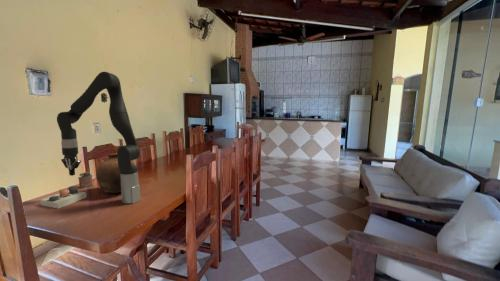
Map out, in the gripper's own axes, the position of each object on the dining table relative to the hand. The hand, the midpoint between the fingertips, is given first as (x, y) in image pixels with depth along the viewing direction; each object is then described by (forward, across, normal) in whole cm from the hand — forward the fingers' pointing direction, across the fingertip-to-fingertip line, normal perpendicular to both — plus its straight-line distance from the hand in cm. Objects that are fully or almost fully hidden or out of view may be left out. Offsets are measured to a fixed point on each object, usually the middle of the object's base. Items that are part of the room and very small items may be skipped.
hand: (72, 175), depth 143 cm
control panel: (+14, 0, +6) cm, 15 cm away
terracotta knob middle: (+10, 0, +6) cm, 12 cm away
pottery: (+14, -15, -18) cm, 27 cm away
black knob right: (+10, 0, 0) cm, 10 cm away
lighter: (+14, +10, -16) cm, 23 cm away
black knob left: (+13, 0, +11) cm, 17 cm away
